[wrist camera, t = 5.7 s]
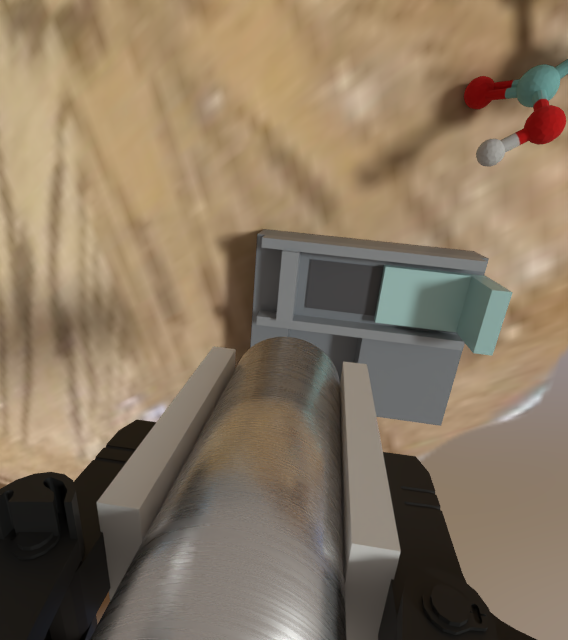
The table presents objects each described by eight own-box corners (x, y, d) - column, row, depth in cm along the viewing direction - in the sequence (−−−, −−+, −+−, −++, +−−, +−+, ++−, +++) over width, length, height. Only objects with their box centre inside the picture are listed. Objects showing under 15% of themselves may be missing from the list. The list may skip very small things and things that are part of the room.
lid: (374, 319, 24) (381, 341, 21) (384, 264, 23) (393, 278, 20) (469, 330, 24) (492, 355, 20) (485, 275, 22) (512, 292, 19)
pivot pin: (233, 423, 14) (10, 950, 4) (235, 330, 12) (-74, 791, 3) (333, 436, 13) (331, 1043, 4) (345, 342, 12) (386, 906, 3)
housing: (253, 381, 30) (242, 410, 26) (264, 229, 26) (252, 237, 22) (431, 405, 29) (447, 440, 25) (473, 251, 25) (500, 264, 21)
